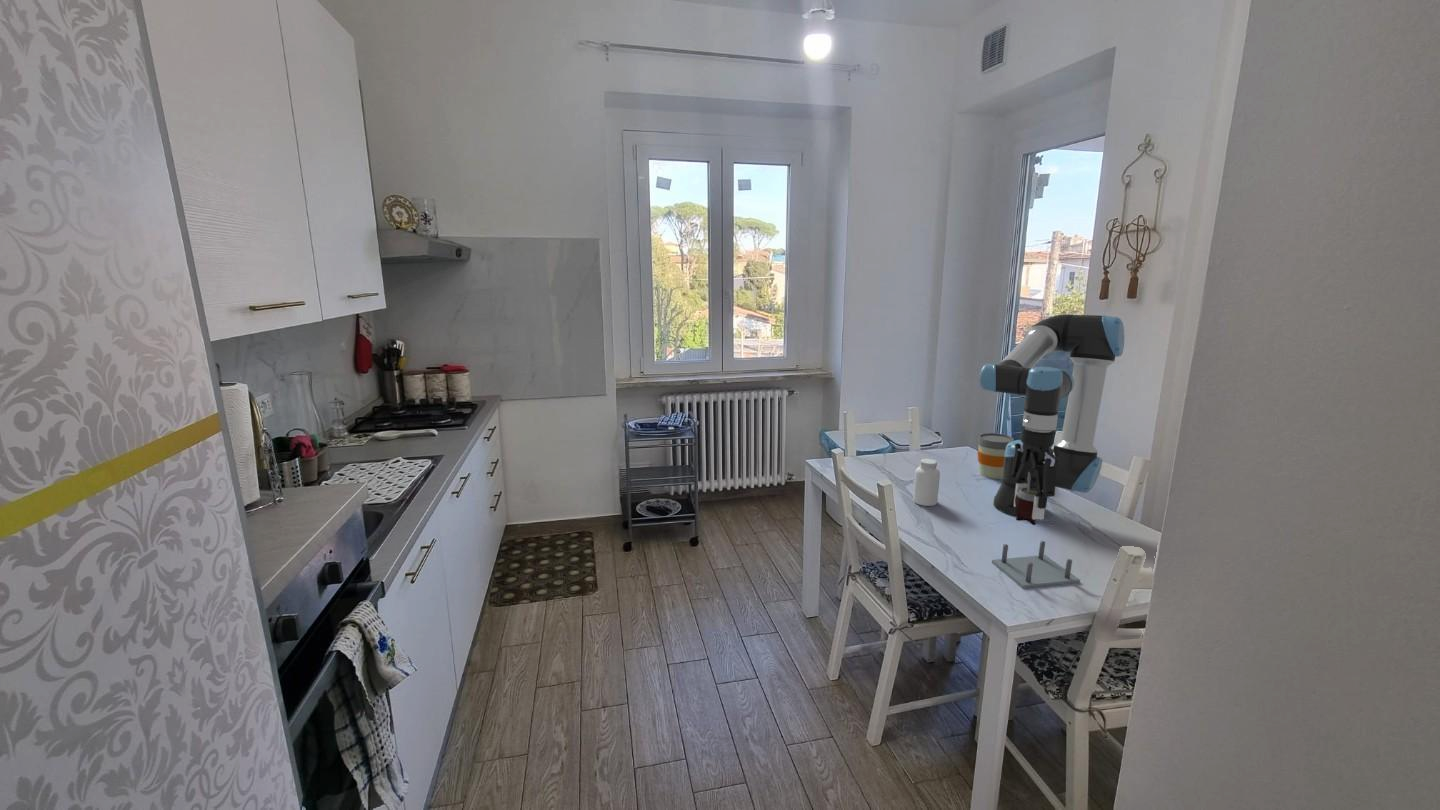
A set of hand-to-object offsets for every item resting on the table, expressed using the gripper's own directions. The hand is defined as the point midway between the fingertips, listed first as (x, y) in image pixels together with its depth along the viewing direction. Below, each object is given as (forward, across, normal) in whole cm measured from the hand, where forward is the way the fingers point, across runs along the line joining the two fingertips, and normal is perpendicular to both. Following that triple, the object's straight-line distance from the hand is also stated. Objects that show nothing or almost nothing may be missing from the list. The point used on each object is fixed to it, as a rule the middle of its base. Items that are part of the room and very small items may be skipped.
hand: (1028, 512), depth 151 cm
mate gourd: (+2, 0, 0) cm, 2 cm away
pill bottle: (+16, -46, -6) cm, 49 cm away
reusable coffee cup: (+16, -67, +32) cm, 76 cm away
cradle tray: (+16, +2, +2) cm, 17 cm away
